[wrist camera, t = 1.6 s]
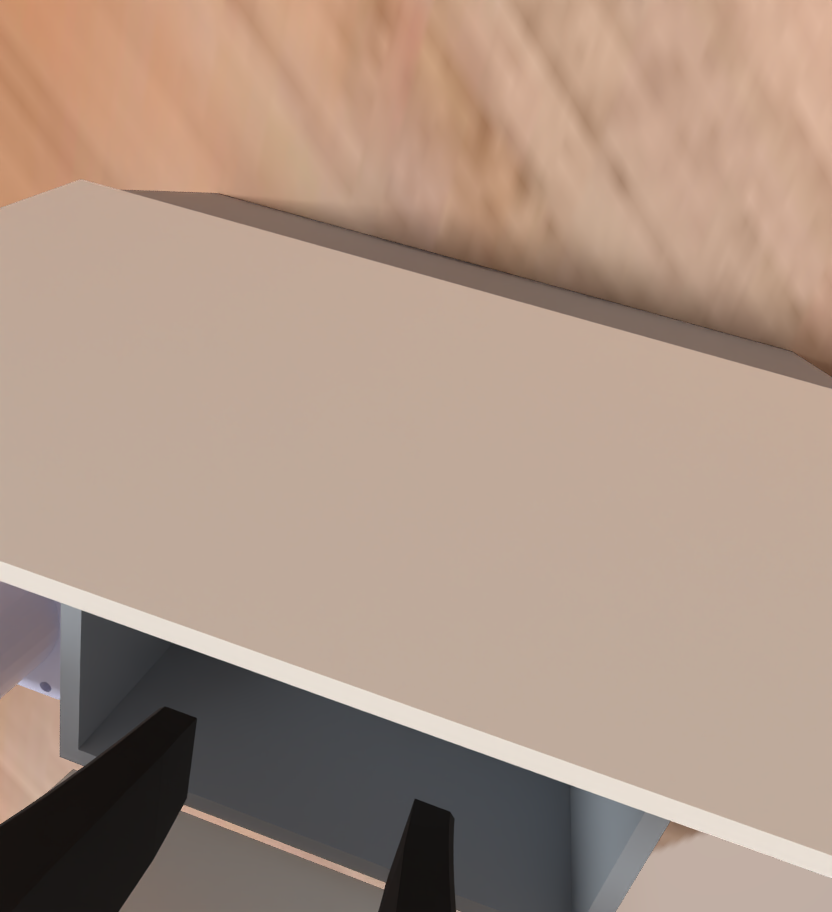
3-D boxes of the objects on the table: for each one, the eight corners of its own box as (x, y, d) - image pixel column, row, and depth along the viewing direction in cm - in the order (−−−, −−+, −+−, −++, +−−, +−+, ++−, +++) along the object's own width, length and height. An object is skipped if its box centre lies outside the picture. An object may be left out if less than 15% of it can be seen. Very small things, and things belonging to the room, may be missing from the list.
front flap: (-475, 410, 6) (-498, 385, 6) (83, 195, 12) (81, 179, 12) (1213, 1015, 4) (1256, 1006, 4) (877, 419, 11) (888, 404, 10)
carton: (172, 632, 24) (60, 756, 19) (216, 193, 18) (63, 187, 12) (580, 778, 23) (586, 960, 17) (791, 351, 16) (908, 425, 11)
